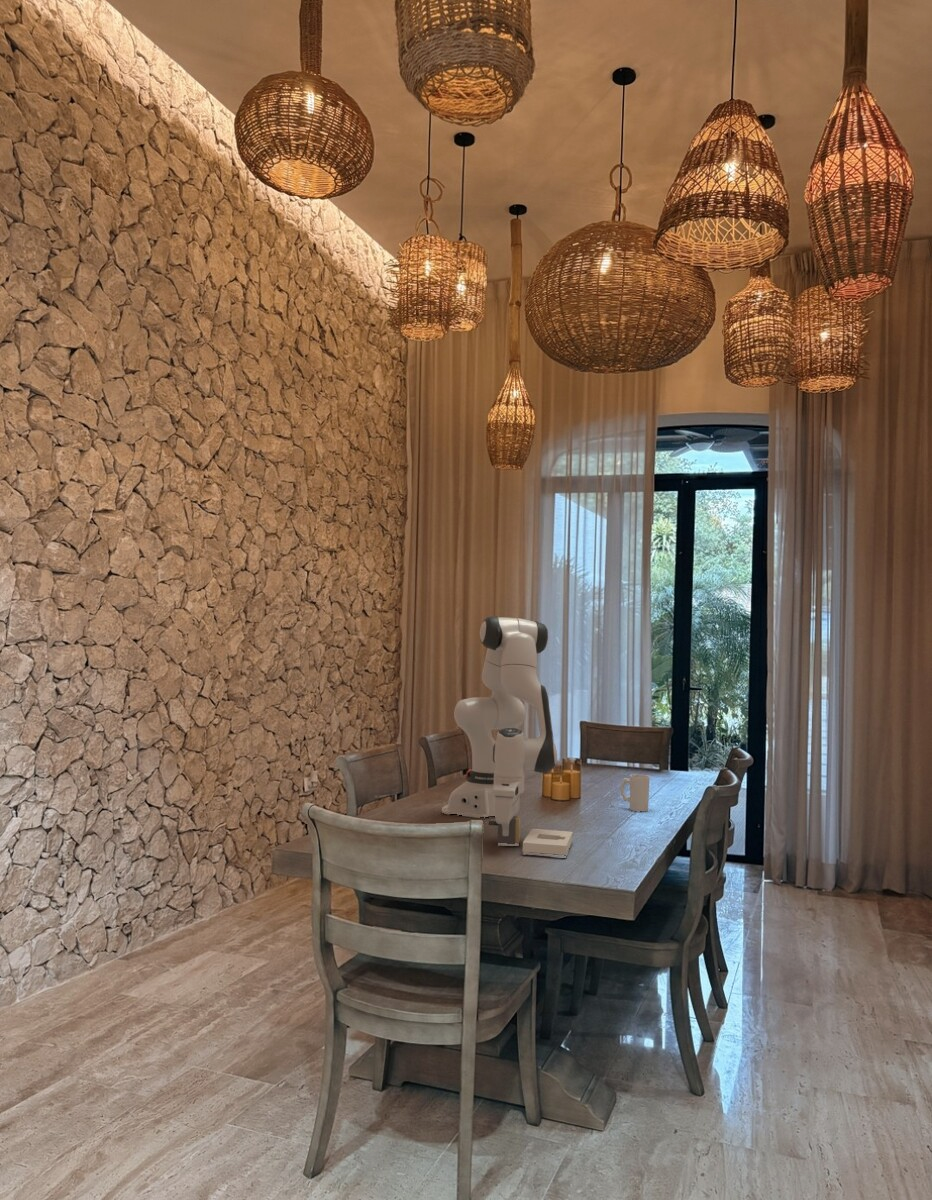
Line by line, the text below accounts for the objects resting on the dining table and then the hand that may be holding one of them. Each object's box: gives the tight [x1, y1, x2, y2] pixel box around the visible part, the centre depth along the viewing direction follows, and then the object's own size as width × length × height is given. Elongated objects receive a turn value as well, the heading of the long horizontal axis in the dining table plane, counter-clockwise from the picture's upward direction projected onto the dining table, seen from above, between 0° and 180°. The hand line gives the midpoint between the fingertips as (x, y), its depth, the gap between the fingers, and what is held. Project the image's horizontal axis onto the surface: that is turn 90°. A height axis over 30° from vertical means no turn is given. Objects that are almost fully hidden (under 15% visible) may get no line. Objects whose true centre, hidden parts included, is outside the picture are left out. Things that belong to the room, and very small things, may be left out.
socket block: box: [522, 828, 574, 856], centre depth 257 cm, size 12×18×4 cm, turn 168°
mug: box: [620, 773, 650, 813], centre depth 318 cm, size 10×7×12 cm, turn 69°
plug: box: [488, 815, 521, 844], centre depth 261 cm, size 9×4×8 cm, turn 78°
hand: (507, 833), depth 261 cm, fingers closed on plug, 4 cm apart
